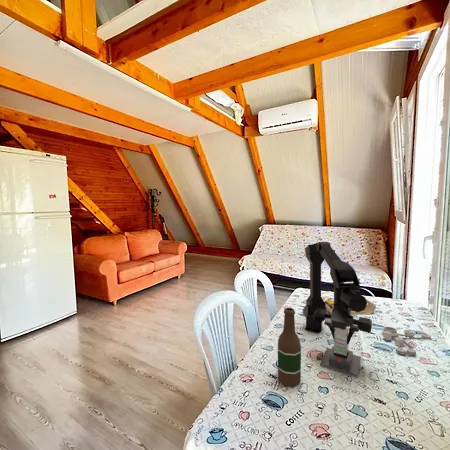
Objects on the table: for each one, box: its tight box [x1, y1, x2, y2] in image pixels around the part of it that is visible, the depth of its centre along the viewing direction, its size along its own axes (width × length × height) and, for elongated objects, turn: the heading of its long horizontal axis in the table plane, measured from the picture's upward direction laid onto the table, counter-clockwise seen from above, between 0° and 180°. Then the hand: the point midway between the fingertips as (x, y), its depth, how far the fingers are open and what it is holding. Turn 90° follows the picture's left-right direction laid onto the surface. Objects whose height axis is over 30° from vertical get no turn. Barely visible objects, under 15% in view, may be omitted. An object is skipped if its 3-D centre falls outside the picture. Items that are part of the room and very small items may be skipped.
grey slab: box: [333, 327, 349, 356], centre depth 95 cm, size 4×6×8 cm
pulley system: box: [382, 326, 432, 356], centre depth 111 cm, size 27×5×15 cm
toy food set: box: [324, 298, 377, 316], centre depth 145 cm, size 25×18×8 cm
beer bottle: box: [277, 307, 302, 388], centre depth 86 cm, size 8×8×24 cm
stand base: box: [319, 345, 362, 378], centre depth 95 cm, size 12×12×4 cm
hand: (341, 342), depth 95 cm, fingers closed on grey slab, 4 cm apart
